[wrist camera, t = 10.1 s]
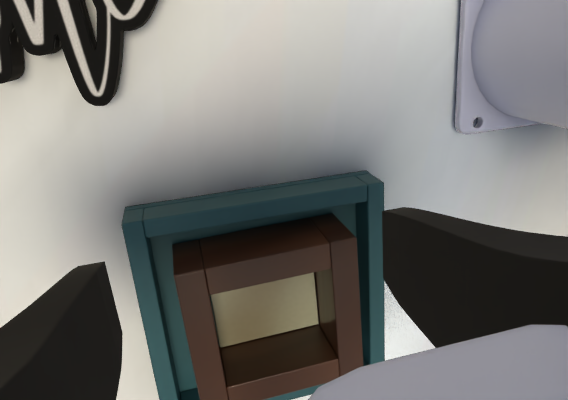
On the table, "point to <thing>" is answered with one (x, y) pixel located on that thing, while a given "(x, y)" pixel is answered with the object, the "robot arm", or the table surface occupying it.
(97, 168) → the table surface
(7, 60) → the nameplate
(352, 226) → the holder
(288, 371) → the frame
